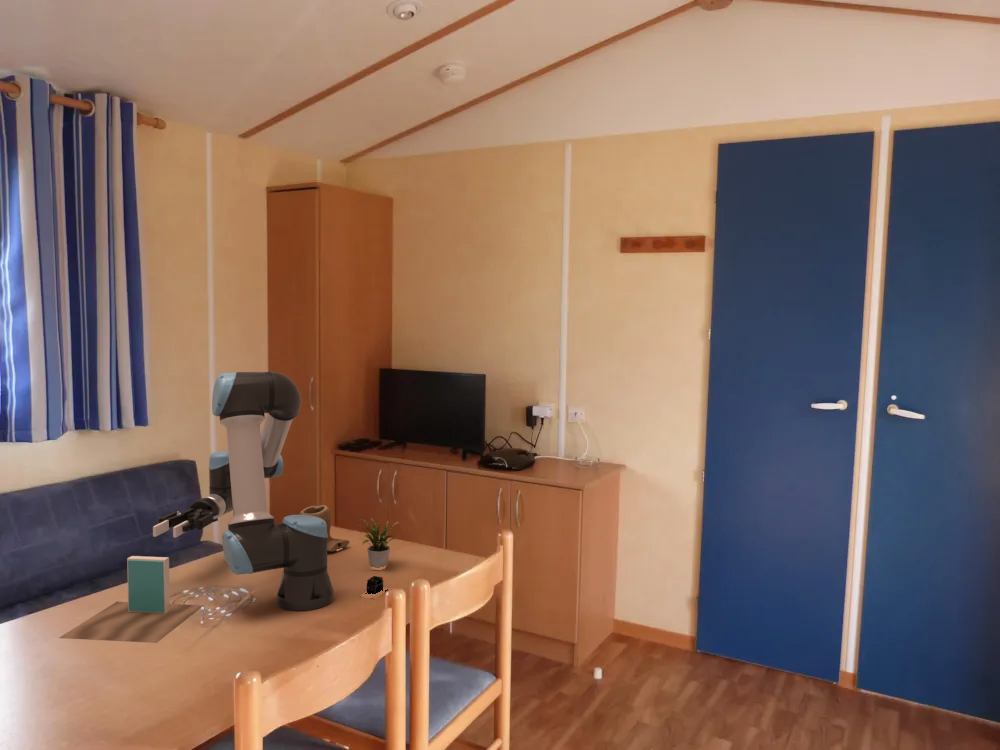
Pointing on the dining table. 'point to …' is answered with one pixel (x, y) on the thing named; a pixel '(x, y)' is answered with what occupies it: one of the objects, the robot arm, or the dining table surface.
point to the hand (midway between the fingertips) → (164, 532)
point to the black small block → (375, 585)
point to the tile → (148, 584)
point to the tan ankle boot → (325, 514)
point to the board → (131, 624)
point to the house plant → (378, 545)
